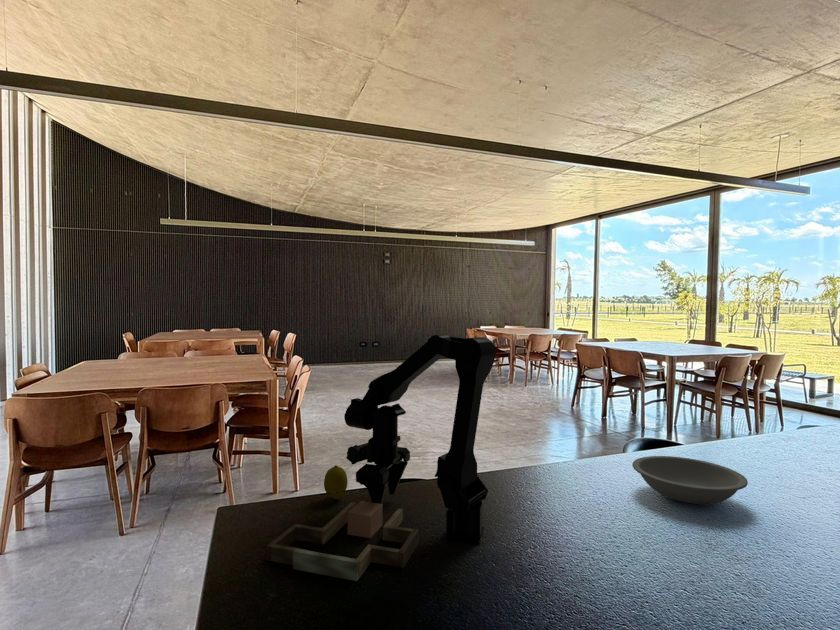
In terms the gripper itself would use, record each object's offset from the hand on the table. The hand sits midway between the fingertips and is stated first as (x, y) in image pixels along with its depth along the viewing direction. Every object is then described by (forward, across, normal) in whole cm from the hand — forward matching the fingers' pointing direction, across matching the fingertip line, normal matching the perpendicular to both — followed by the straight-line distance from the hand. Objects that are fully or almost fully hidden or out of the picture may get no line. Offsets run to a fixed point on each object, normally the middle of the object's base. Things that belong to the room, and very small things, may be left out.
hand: (384, 501), depth 101 cm
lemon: (+2, -1, -13) cm, 13 cm away
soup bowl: (+2, -29, +68) cm, 74 cm away
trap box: (+2, +16, 0) cm, 16 cm away
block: (+2, +11, 0) cm, 11 cm away
